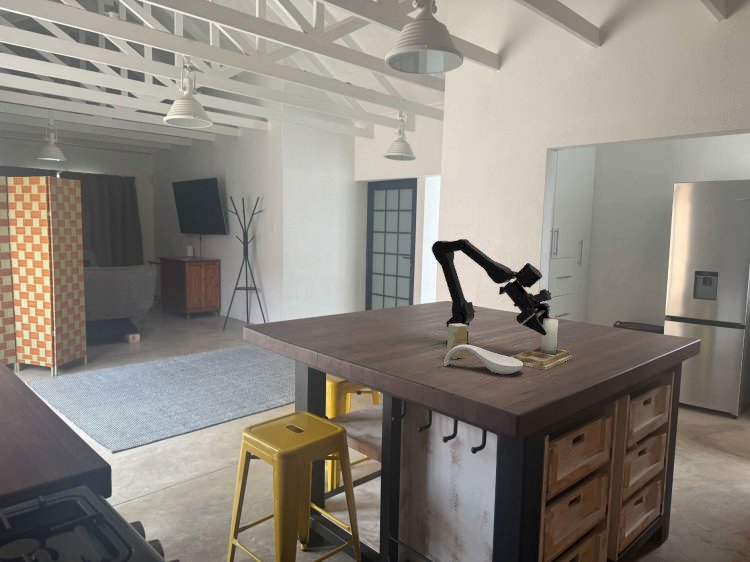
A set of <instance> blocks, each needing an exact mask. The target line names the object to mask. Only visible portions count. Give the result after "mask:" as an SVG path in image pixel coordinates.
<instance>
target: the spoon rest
mask: <svg viewBox="0 0 750 562" xmlns="http://www.w3.org/2000/svg"><path fill="white" fill-rule="evenodd" d="M463 349H465V350H466V351H469V352H471V353H473V354H474V355H475V356H476V357H477V358H478V359H479V360H480V362H481V363H482V364H483V365H484V366H485V368H487V370H489V371H490V372H491V373H493V372H494V374H496V373H499V374H498V375H510V374H511V375H512V374H515V373H517V372H519V371H520V370H521V368H522V367H524V366H523V363H522V362H521V361H520V360H517V359H515V358H511V356H509V355H508V356H507V355H503V354H499V353H496V352H492V351H490V350H487V349H485V348H481V347H479V346H475V345H471V344H469V345H458V346H456V347H454V348H453V349H451V350H450V351H449V352H448V353H447V352H446V354H445V357H444V361H443V366H444V367H448V366H449V365H450V363H451V359H452V358H451V356H452V354H453V353H454V352H456V351H458V350H463ZM447 365H448V366H447Z"/></svg>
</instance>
